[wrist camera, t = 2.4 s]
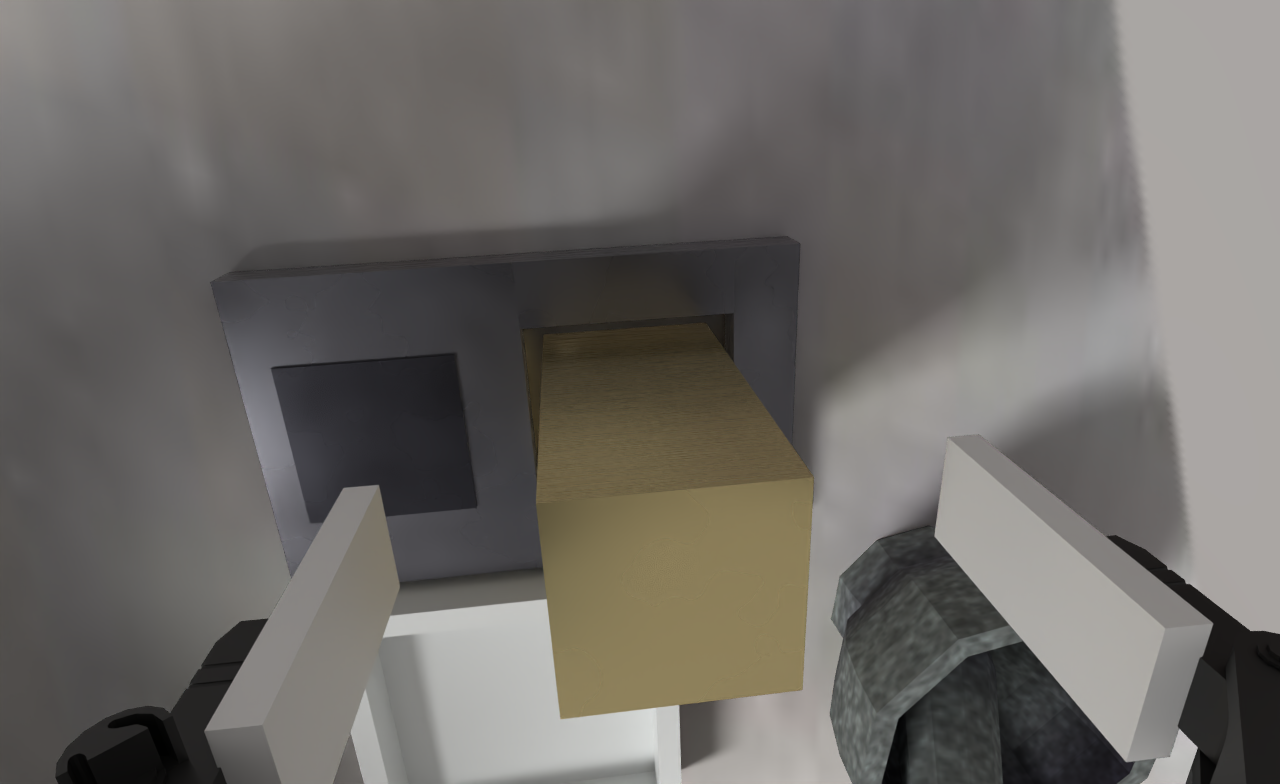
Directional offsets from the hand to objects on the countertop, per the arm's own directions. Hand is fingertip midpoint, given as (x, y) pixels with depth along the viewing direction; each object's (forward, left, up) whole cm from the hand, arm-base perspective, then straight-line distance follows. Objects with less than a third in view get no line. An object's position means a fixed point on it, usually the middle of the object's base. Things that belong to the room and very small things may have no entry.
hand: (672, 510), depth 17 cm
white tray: (-5, -11, -7) cm, 14 cm away
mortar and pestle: (+9, -10, -7) cm, 15 cm away
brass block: (0, 0, -7) cm, 7 cm away
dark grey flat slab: (-3, 0, -7) cm, 8 cm away
